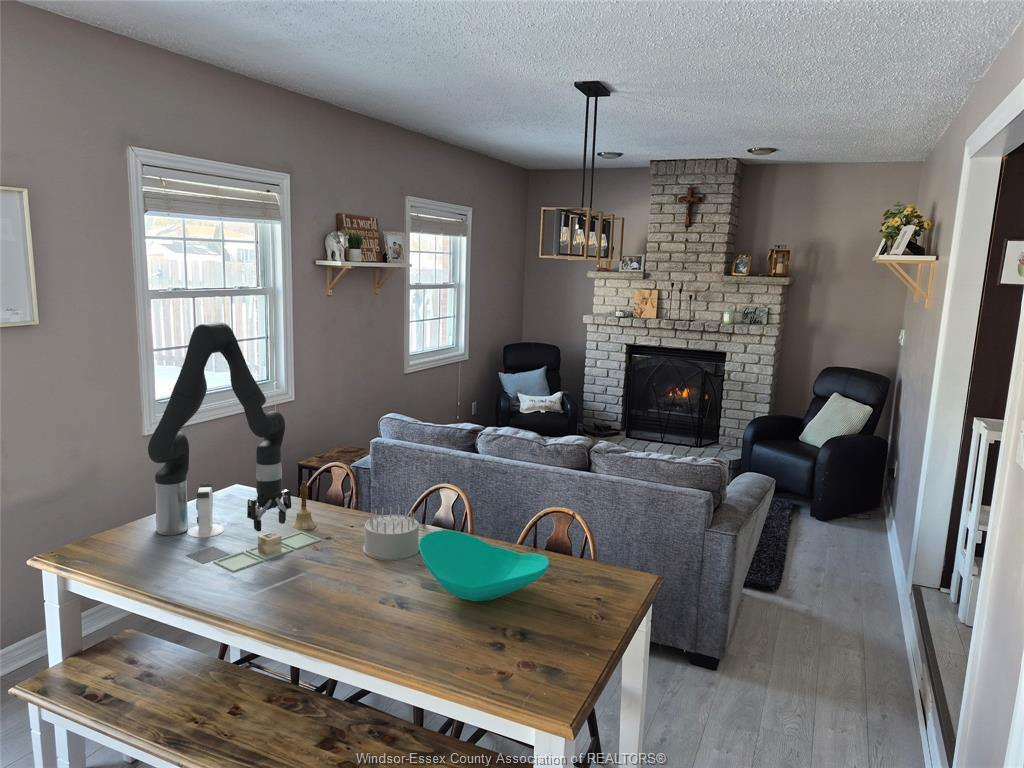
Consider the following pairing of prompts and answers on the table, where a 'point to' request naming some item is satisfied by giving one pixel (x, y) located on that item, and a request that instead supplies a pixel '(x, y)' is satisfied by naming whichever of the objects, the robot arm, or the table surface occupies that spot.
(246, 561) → the tray
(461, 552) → the table top decor
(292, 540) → the tray
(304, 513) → the hand bell
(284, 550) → the tray
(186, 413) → the robot arm
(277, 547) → the letter cube
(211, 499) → the white post on base
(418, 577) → the table surface
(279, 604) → the table surface
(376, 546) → the cake
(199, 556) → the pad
